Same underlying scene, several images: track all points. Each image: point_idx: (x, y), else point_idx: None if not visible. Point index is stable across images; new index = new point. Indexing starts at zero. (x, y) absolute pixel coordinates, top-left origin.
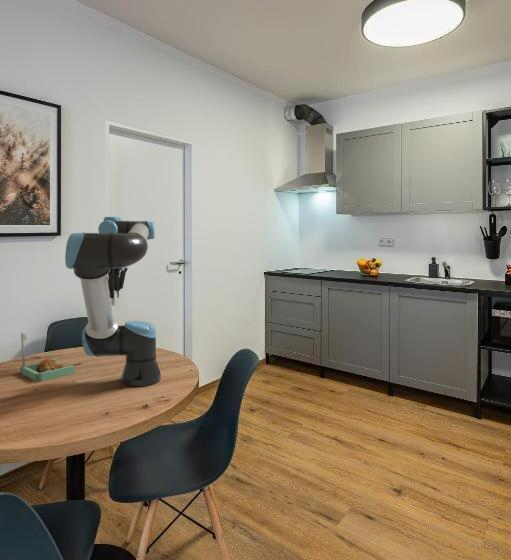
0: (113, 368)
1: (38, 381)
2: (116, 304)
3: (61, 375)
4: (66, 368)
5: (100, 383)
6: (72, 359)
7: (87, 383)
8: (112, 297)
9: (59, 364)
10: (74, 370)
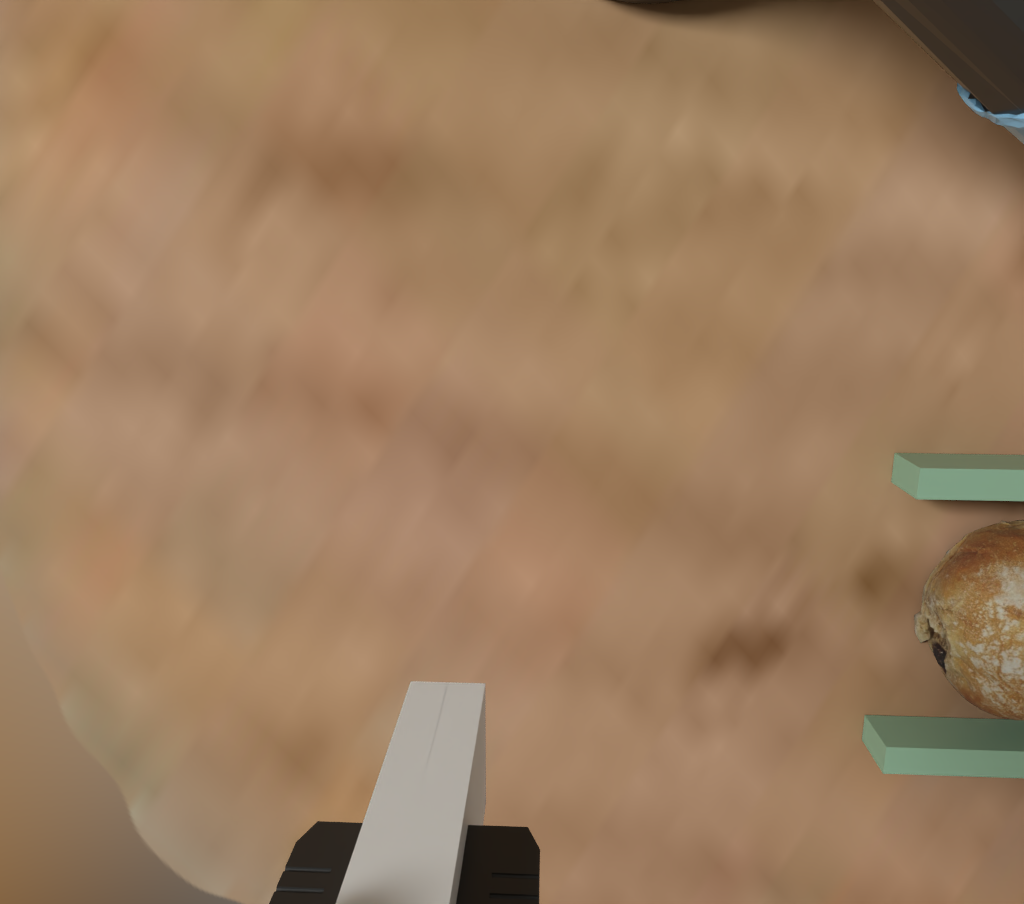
0: (615, 323)
1: None
2: (435, 694)
3: (1014, 456)
4: (994, 468)
5: None
6: (692, 792)
7: None
8: (503, 839)
9: (1010, 563)
10: (907, 458)
